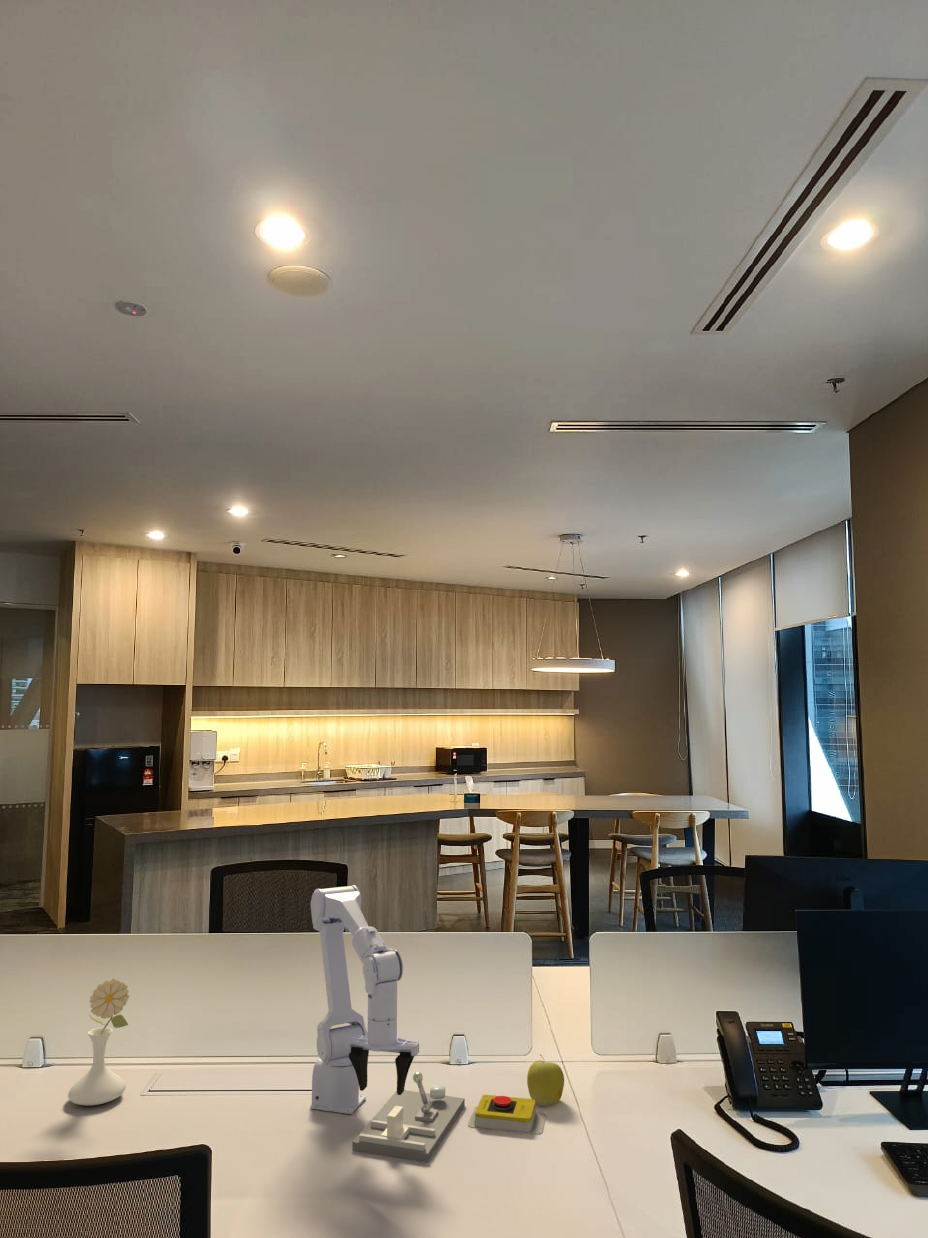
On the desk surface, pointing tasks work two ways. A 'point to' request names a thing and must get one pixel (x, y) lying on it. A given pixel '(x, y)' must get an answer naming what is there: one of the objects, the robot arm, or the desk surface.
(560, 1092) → the apple
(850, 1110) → the desk surface
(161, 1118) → the desk surface
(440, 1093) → the push button
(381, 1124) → the grey base plate
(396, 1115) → the paddle slider
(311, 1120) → the desk surface
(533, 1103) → the emergency button
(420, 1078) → the toggle lever
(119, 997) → the flower in vase
